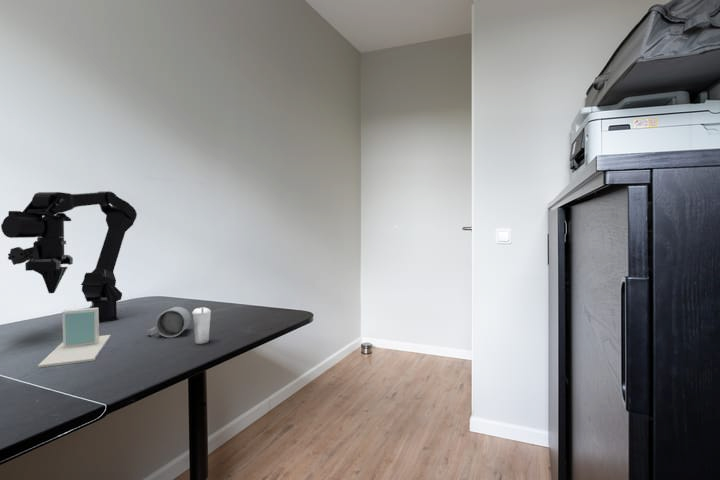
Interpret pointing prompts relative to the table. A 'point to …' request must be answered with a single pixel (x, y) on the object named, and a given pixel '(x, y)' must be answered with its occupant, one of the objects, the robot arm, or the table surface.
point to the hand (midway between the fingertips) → (51, 293)
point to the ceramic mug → (171, 322)
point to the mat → (74, 353)
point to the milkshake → (201, 324)
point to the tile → (80, 327)
